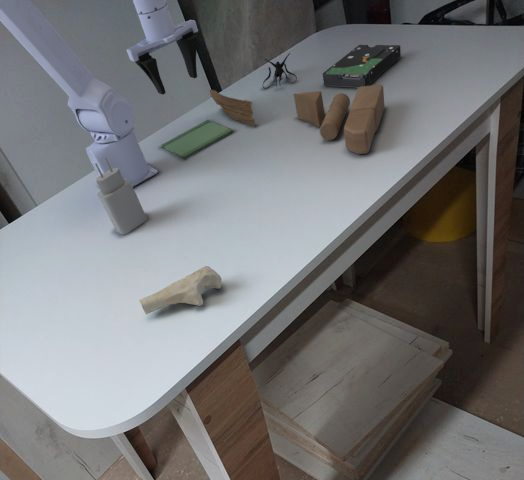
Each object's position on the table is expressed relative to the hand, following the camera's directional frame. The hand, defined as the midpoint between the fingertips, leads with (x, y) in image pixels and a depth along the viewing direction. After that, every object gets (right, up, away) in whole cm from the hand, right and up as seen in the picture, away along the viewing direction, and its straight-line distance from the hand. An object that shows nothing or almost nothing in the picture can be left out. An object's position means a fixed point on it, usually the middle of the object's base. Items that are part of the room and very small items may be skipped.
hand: (178, 85), depth 105 cm
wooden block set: (+30, -14, -9) cm, 34 cm away
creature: (+21, +7, +13) cm, 26 cm away
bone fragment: (+6, -47, -33) cm, 57 cm away
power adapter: (-6, -32, -15) cm, 35 cm away
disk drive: (+38, +6, +6) cm, 39 cm away
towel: (+3, -10, +3) cm, 11 cm away
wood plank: (+12, -4, +6) cm, 14 cm away
